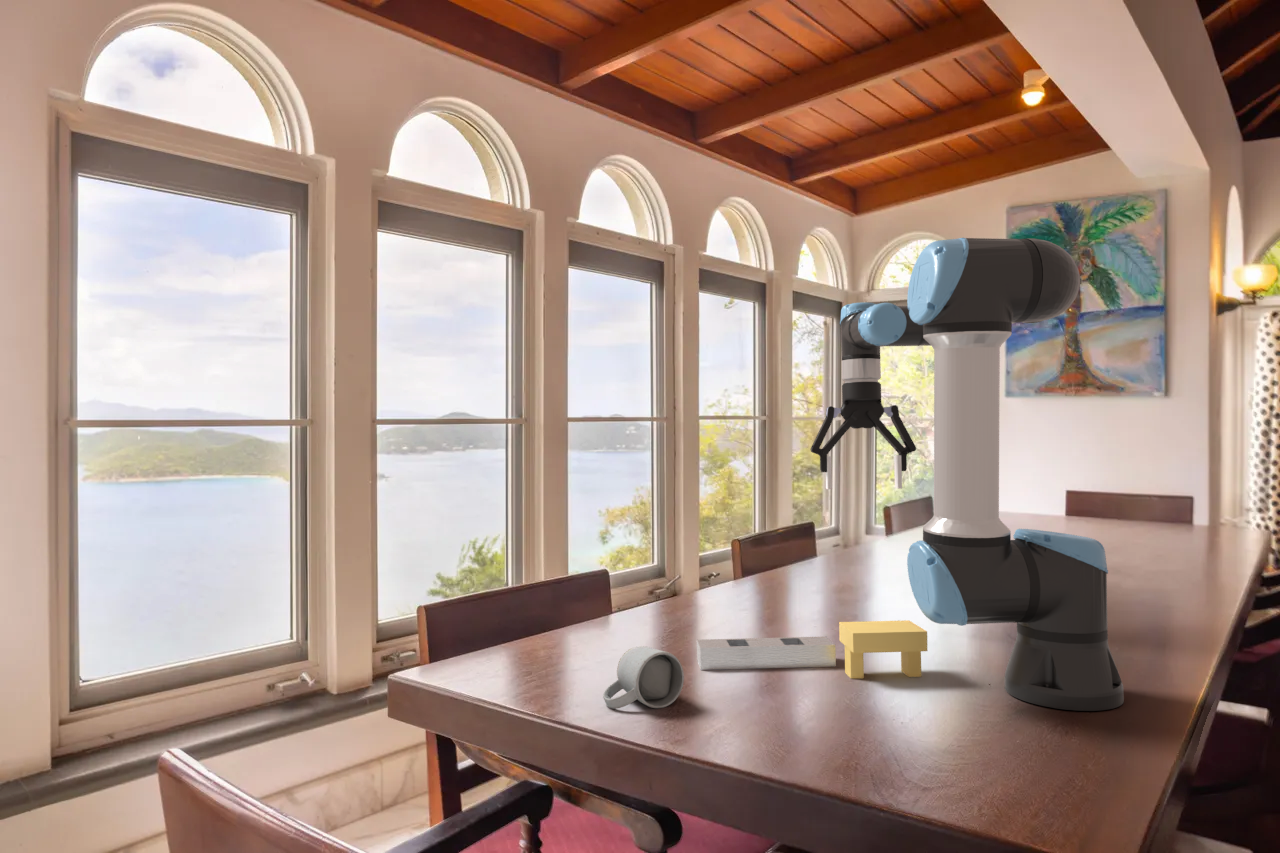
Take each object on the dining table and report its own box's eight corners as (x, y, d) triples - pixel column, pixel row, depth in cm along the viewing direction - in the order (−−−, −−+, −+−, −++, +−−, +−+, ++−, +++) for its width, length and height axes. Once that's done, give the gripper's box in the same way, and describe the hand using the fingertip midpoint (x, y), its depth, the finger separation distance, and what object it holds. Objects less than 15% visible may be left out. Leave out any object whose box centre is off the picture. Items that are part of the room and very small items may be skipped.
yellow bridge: (928, 680, 126) (927, 631, 126) (853, 682, 126) (852, 633, 126) (910, 667, 134) (909, 620, 134) (839, 668, 133) (839, 622, 133)
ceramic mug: (657, 688, 125) (656, 637, 125) (686, 703, 117) (684, 649, 117) (593, 701, 120) (591, 648, 120) (619, 718, 112) (617, 661, 112)
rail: (835, 666, 135) (835, 644, 135) (700, 669, 134) (700, 648, 134) (826, 657, 140) (826, 636, 140) (697, 660, 140) (696, 639, 140)
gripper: (920, 381, 168) (922, 486, 168) (795, 384, 170) (797, 488, 169) (930, 379, 161) (933, 488, 160) (800, 381, 162) (802, 490, 162)
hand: (863, 488), depth 165 cm, fingers open, 13 cm apart
